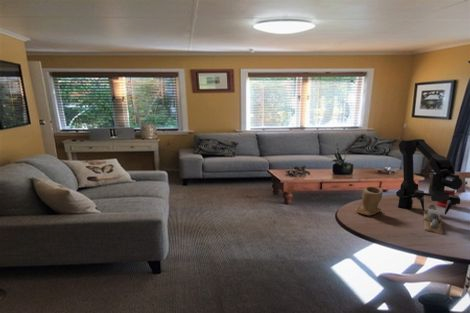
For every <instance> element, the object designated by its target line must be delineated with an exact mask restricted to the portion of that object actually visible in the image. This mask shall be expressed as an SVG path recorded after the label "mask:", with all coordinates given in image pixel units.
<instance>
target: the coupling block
mask: <svg viewBox="0 0 470 313" xmlns="http://www.w3.org/2000/svg"><path fill="white" fill-rule="evenodd" d="M427 211H428V212H427V221H430V222H431V220H430V219H431V218H432V217H437V218H438V219H440V217H441V211H440V210H439V209H436V210H433V209H428V208H427Z"/></svg>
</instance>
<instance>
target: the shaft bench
mask: <svg viewBox="0 0 470 313" xmlns="http://www.w3.org/2000/svg"><path fill="white" fill-rule="evenodd" d="M428 209H433V210H437V208H436V206H435V205H434V204H430V205H429V207H427V210H426V209H424V211H423V225H424V226H423V227H424V228H423V229H424V231H425V232H429V233H435V234H440V235H444V229H443V218H442V217H441V216H440V219H438V218H437V217H432V218H431V219H430V220H431V222H430V221H427V212H428Z"/></svg>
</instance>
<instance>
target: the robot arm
mask: <svg viewBox="0 0 470 313" xmlns="http://www.w3.org/2000/svg"><path fill="white" fill-rule="evenodd" d="M398 146H399V152H400V153H401V155H402V164H403V165H402V166H403V172H402V173H403V180H402V182H401V184H400V186H399V187H400V188H399V189H398V191H396V192H395V195H396V197H397V198H398V205H397V208H400V209H407V210H412V208H413V202H414V200H413V199H415V198H416V199H417V200H419V202H420V204H421V209H422V211H423V212H424V210H425V199H424V198H430V200H431V201H432V202H437V201H438V202H443V200H448V202H447V205H446V208H445V209H444V215H447V213H448V212H449V210H450V209H451V208H452V207H453V206H456V205H460V204H461V197H460V196H459V195H456V194H454V195H449V193H447V192H444V190H445V186H446V187H449V188H452V189H455V191H457V190H459V189H460V188H461V187H462V186H463V180H462V178H460V175H459V174H456V171H455V170H454V167H453V165H452V162H451V160H450V159H449V158H447V157H446V156H443V155H440V154H438V152H436V150H434V149H433V148H432V147H431V146H430V145H429V144H428V143H427V142H426V141H425V139H423V138H414V139H402V140H400V142H399V144H398ZM417 150H418V151H419V152H420V153H421V154H422V155H423V156H424V157H425V158H426V159H427V160H428V164H429V166H430V167H431V168H432V169H431V170H429V173H431V174H432V176H431V181H430V182H431V183H430V189H429V193H428V192H427V193H426V192H425V191H424V190H421V189H419V184H418V183H416V182H415V180H414V178H415V177H414V174H415V173H414V171H415V170H414V155H415V153H416V152H417Z"/></svg>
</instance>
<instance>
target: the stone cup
mask: <svg viewBox="0 0 470 313" xmlns="http://www.w3.org/2000/svg"><path fill="white" fill-rule="evenodd" d="M361 196H362V197H361V200H362V205H360V206H358V207H357V208H355V211H356V213H359V214H361V215H364V216H374V215H375V214H377V213H379V212H380V211H382V208H381V207H380V206H379V204H380V202H381V200H382V197H383V191H382V189H381V188H379V187H377V186H373V185H371V186H370V185H369V186H366V187H365V188H364V189H363V191H362V195H361Z"/></svg>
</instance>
